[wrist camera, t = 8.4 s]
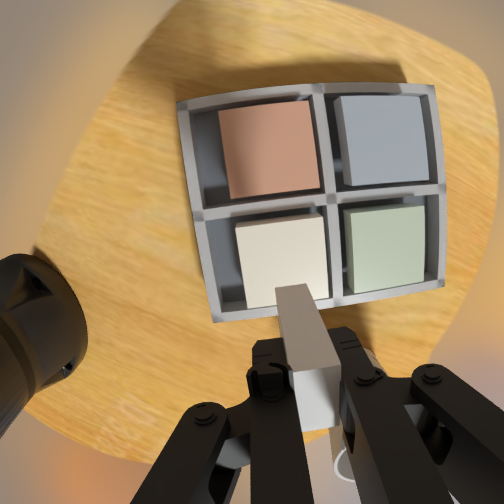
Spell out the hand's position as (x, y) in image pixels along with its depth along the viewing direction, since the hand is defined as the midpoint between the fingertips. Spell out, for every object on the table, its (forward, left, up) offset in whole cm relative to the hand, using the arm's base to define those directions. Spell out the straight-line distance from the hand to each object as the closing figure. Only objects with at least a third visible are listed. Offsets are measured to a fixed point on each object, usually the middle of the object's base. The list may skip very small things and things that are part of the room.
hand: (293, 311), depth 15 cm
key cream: (0, 0, -10) cm, 10 cm away
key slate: (+8, +8, -9) cm, 14 cm away
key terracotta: (0, +8, -10) cm, 12 cm away
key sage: (+8, 0, -10) cm, 13 cm away
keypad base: (+4, +4, -13) cm, 14 cm away
